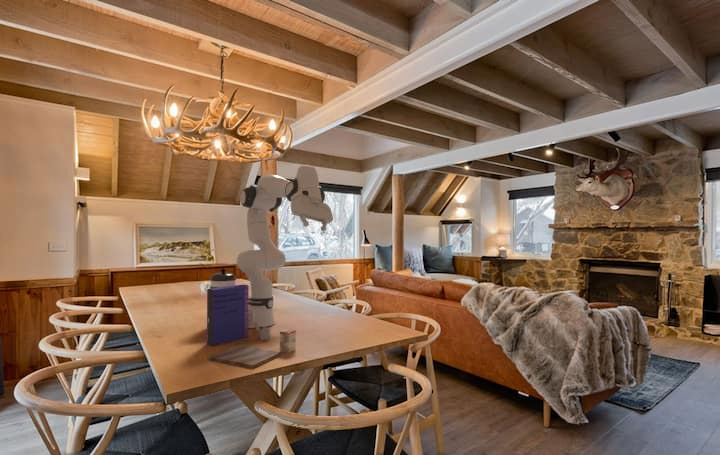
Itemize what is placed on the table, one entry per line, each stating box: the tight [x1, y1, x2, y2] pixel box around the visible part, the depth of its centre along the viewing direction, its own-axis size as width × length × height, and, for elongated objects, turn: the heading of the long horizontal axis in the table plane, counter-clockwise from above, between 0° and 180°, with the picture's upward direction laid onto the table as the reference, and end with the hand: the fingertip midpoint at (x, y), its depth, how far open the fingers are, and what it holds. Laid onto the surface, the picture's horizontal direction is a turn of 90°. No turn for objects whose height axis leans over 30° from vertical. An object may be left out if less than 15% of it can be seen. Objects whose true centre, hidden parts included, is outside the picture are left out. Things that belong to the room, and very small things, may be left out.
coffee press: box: [209, 267, 237, 289], centre depth 190 cm, size 17×16×30 cm
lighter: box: [253, 322, 271, 341], centre depth 167 cm, size 7×2×8 cm, turn 103°
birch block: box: [279, 328, 297, 354], centre depth 152 cm, size 4×4×8 cm
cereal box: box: [206, 284, 250, 347], centre depth 165 cm, size 17×5×24 cm, turn 141°
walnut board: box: [206, 344, 282, 369], centre depth 143 cm, size 22×16×1 cm
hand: (315, 228), depth 152 cm, fingers open, 8 cm apart
